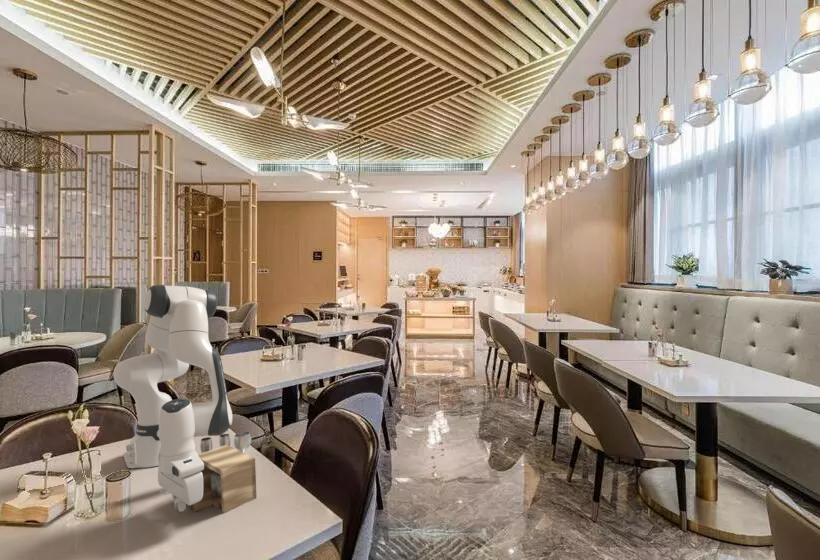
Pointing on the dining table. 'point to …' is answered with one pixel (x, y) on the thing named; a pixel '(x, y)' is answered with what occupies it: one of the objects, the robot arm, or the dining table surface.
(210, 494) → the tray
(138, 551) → the dining table surface
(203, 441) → the goblet set
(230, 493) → the wooden stand
